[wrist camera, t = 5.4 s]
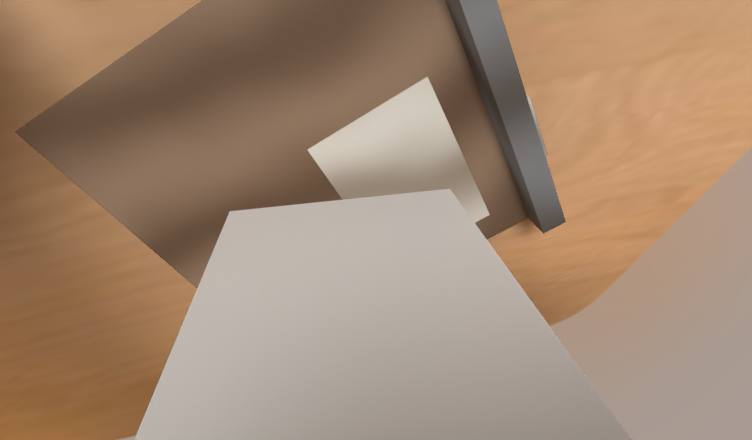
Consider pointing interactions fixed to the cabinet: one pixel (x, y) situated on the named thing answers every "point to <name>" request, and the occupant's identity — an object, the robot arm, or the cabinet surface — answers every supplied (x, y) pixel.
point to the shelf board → (302, 118)
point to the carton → (368, 335)
